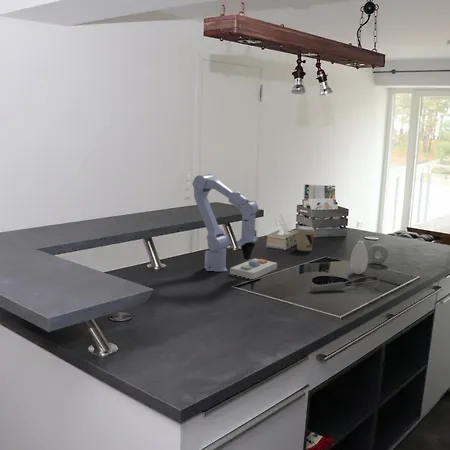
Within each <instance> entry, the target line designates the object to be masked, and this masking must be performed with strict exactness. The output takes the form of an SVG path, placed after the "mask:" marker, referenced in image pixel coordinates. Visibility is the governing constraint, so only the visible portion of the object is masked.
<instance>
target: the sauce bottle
mask: <svg viewBox="0 0 450 450" xmlns="http://www.w3.org/2000/svg"><path fill="white" fill-rule="evenodd" d="M350 254H351V255H350V260H349V263H350V264H349V265H350V268H351V271H353V272H354V274H356V275H362V274H363V273H364V272H365V270H366V269H367V267H368V262H369V257H368V250H367V248H366V245H365V244H364V241H363V240H362V236H360V239H359V240H358V241H357V243H356V244H355V245H354V246H353V249H352V251H351V253H350Z"/></svg>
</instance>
